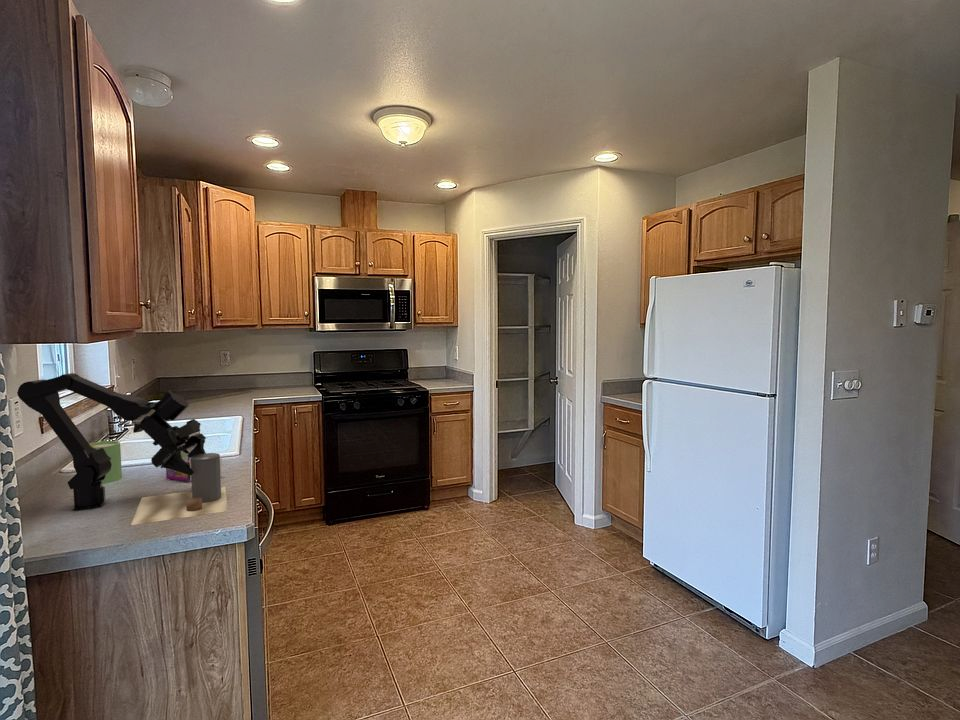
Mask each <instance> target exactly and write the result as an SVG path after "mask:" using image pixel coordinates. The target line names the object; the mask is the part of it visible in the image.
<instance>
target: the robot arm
mask: <svg viewBox="0 0 960 720" xmlns="http://www.w3.org/2000/svg"><path fill="white" fill-rule="evenodd" d="M17 390H18V391H17V392H16V393H17V396H18V398H19V400H21V401H22V402H23V403H24V404H25V405H26V406H27V407H29V408H30V409H32V410H33V411H35V412H37V413H39V414H40V415H41V416H42V417H43V418H44V420H45V422H46V423H47V425H49V427H50V428H51V430H52V431H53V432H54V434H55V435H56V436H57V437H58V439H59V440H60V442H61V443H62V445H64V447H65V448H66V450H67V451H68V453H69V454H70V455H71V457H72V464H73V468H74V471H75V473H76V474H74V475H73V476H72V477H71V478H70V479H69V480H68V481H67V485H68V487H69V489H70V490H73V491H72V492H73V505H74V506H73V508H72V511H78V510H77V509H80V510H86V508H87V509H93V507H95V508H100V506H101V505H102V506H103V504H104V503H105V501H106V487H105V486H104V485H103V484H102V480H104V479H105V476H106V474H107V473H109V471H110V470H111V466H112V464H111V461H110V459H111V458H110V457H109V456H108V455H107V454H106V452H105V450H104V449H103V448H100V449H98V450H96V449H95V448H93V447H91V446H90V445H89V444H90V443H89V442H88V441H87V439H86V437H84V435H83V433H82V432H81V431H80V430H79V429H78V427H77V425H76V424H75V423H74V422H73V421H72V419H71V417H70V416H69V415H68V414H67V412H66V411H65V409H64V408H63V407H62V405H61V402H60V394H59V392H62V391H65V390H68V391H71V392H73V393H75V394H78V395H80V396H82V397H85V398H87V399H89V400H92V401H93V402H97V403H99V404H101V405H103V406H105V407H107V408H109V409H111V411H112V412H113V413H114V414H115V415H117V416H118V417H120V418H121V419H123V420H125V421H129V422H133V421H136V420H138V419H141V420H140V421H139V422H134V423H133V429H132V433H134V434H135V433H140V432H141V433H142V432H143V431H144V433H145V434H147V435H148V436H149V437H150V438H151V439H152V440H153V442H152V443H151V444H153V446H155V447H156V446H159V447H160V449H158V451H157V452H156V453H155V454H154V455H153V456H152V457H151V459H150V460H151V464H152V465H153V466H154V467H155V468H161V469H163V468H164V469H166V468H167V469H171V470H175V471H178V472H181V473H185V474H188V475H192V474H193V473H194V472H193V471H192V469H191V468H190V467H189V466H188V465H187V463H186V462H185V461H184V460H183V459H182V458H181V451H183V452H184V453H186V454H188V455H187V456H188V457H190V458H191V457H192V456H195V455H198V454H205V453H206V451H205V448H204V445H205V443H206V439H207V437H206V436H205V435H204V434H203V433H200V434H195V435H193V436H191V437H190V436H189V435H191V434H193V433H195V432H199V431H200V432H201V422H199V421H198V420H196V419H195V418H192V419H190V420H189V421H186V424H183V425H182V426H180V427H179V426H178V425H174V426H172V425H171V424H170V423H169V421H175V420H176V419H177V418H178V417H179V416H180V415H182V413H183V412H184V411H185V410H186V409H188V407H189V406H190V405H189V402H188V401H187V400H186V399H185V398H184V397H183V396H180V395H179V394H176V393H175V392H172V391H171V390H169V391H167V392H166V393H165V394H164V395H163V396H162V397H161V399H159V400H158V401H157V402H154V401H153V402H152V401H148V400H147V399H145V398H143V397H139V396H135V395H130V394H124V393H119V392H116V391H114V390H112V389H109V388H107V387H105V386H103V385H100V384H98V383H96V382H94V381H91V380H89V379H87V378H84V377H82V376H80V375H79V374H77V373H74V372H73V373H63V374H61V375H58V376H57V377H53V378H49V379H45V378H44V379H35V380H31V381H25V382H23V383H22V384H20V386H19V387H18V389H17ZM150 413H151V414H150ZM148 414H150V415H148ZM142 418H143V419H142ZM189 437H190V438H189ZM186 440H187V441H186ZM181 447H182V448H181Z"/></svg>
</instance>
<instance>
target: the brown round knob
mask: <svg viewBox="0 0 960 720" xmlns="http://www.w3.org/2000/svg"><path fill="white" fill-rule="evenodd" d="M186 509H187V511H197V510H200V509H202V498H191V499H188V500H186Z"/></svg>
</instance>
